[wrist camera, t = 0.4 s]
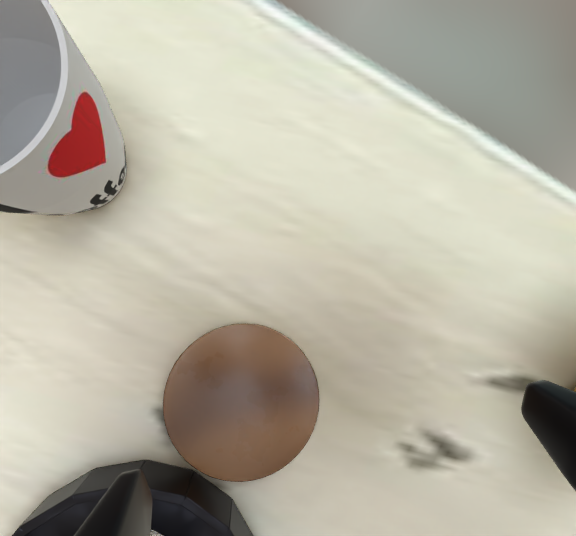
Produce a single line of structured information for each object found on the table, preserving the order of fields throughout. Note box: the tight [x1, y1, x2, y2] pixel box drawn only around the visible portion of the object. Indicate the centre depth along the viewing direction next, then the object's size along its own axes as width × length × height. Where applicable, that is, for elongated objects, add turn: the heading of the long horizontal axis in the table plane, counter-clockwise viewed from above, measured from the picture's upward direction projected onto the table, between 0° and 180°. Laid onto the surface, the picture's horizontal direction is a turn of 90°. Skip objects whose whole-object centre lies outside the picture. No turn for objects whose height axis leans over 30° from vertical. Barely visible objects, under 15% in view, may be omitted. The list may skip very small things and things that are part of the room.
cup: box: [0, 0, 127, 215], centre depth 16 cm, size 8×8×10 cm
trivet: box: [163, 323, 319, 482], centre depth 21 cm, size 9×9×1 cm
